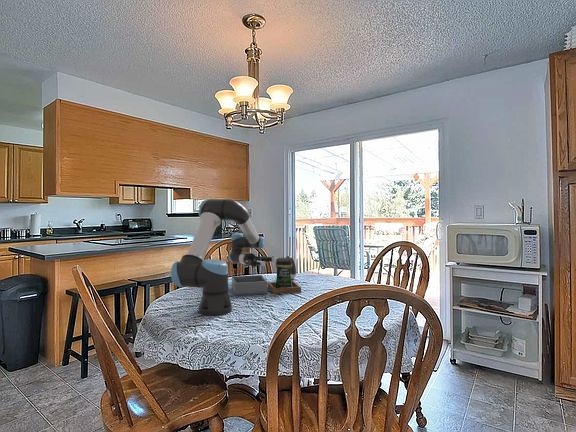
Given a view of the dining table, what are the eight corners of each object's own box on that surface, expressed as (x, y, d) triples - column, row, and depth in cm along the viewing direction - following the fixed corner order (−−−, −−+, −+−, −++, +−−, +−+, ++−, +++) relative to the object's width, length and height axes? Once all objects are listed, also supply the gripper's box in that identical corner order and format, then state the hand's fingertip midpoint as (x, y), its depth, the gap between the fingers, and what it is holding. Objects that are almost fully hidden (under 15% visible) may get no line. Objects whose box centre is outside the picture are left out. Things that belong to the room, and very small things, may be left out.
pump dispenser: (278, 277, 229) (278, 255, 228) (292, 276, 233) (292, 254, 232) (284, 281, 219) (284, 257, 219) (299, 279, 224) (299, 256, 223)
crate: (267, 294, 187) (267, 281, 187) (234, 296, 183) (234, 283, 182) (262, 286, 204) (261, 274, 204) (231, 288, 200) (231, 276, 200)
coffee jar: (275, 291, 193) (274, 258, 192) (276, 288, 201) (276, 256, 200) (292, 291, 192) (291, 259, 192) (292, 288, 200) (292, 256, 200)
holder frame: (301, 292, 191) (301, 286, 191) (273, 294, 187) (273, 288, 187) (293, 285, 206) (293, 280, 206) (267, 287, 202) (267, 282, 202)
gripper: (261, 261, 225) (286, 265, 212) (233, 267, 206) (258, 272, 193) (261, 250, 225) (286, 253, 212) (232, 255, 205) (258, 259, 192)
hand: (272, 262), depth 202 cm, fingers open, 13 cm apart
